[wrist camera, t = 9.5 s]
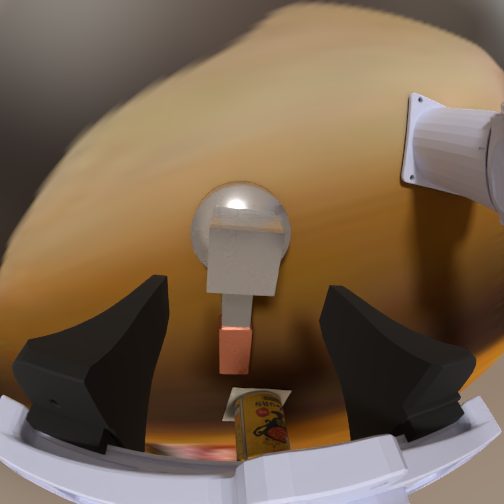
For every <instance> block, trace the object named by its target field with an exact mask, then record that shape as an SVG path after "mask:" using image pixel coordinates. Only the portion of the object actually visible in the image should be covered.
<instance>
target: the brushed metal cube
mask: <svg viewBox="0 0 504 504" xmlns="http://www.w3.org/2000/svg"><path fill="white" fill-rule="evenodd" d="M284 237H285V232H284V230H283V228H282V226H281V225H280V223H279V221H278V219H277V217H276V215H275V213H274V211H265V210H253V209H242V208H229V207H216V206H214V210H213V214H212V219H211V223H210V229H209V248H208V270H207V292H209V293H224V294H241V295H260V296H274V294H275V289H276V283H277V278H278V272H279V266H280V261H281V255H282V249H283V243H284Z"/></svg>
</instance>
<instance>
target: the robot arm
mask: <svg viewBox="0 0 504 504" xmlns="http://www.w3.org/2000/svg"><path fill="white" fill-rule="evenodd" d="M418 98H419V99H420V102H419V101H418ZM501 109H502V112H498V111H488V110H477V109H463V108H448V107H446V106H444V105H442V104H440V103H438V102H435V101H433V100H431V99H429V98H427V97H424V96H422V95H420V94H417V93H411V94H410V96H409V113H408V125H407V136H406V145H405V153H404V160H403V167H402V174H401V178H402V180H403V181H404V182H407V183H411V184H416V185H420V186H425V187H429V188H433V189H437V190H441V191H445V192H449V193H453V194H456V195H460V196H464V197H466V198H469V199H471V200H473V201H475V202H477V203H480V204H482V205H484V206H486V207H488V208H490V209H492V210H494V211H496V212H498V213H499V218H500V224H502V225H504V102H503V103H502V104H501ZM411 175H412V179H411V180H410V176H411ZM168 320H169V300H168V282H167V276H163V275H153V276H151V277H150V278H149V279H148V280H146V281H145V282H144V283H143V284H141V285H140V286H139V287H138V288H136V289H135V290H134V291H133V292H131V293H130V294H129V295H128V296H126V297H125V298H123V299H122V300H121V301H119V302H118V303H116V304H115V305H114V306H112V307H111V308H109V309H108V310H106V311H104V312H103V313H101V314H99V315H97V316H95V317H94V318H92V319H89V320H87V321H85V322H83V323H81V324H79V325H77V326H74V327H72V328H69V329H66V330H64V331H61V332H57V333H54V334H51V335H47V336H43V337H38V338H34V339H29V340H28V341H27V343H26V344H25V346H24V347H23V348H22V350H21V352H20V353H19V355H18V356H17V358H16V359H15V361H14V362H13V366H12V369H13V373H14V376H15V378H16V380H17V382H18V383H19V385H20V386H21V388H22V389H23V391H24V392H25V394H26V395H27V396H28V398H29V399H30V400H31V402H32V403H33V404H32V406H31V409H30V410H29V409H28V408H27V407H26V406H24V405H23V404H21V403H19V402H17V401H15V400H13V399H11V398H9V397H7V396H5V395H2V397H1V399H0V461H1V462H3V463H4V464H5V465H7V466H8V467H9V468H11V469H12V470H13V471H15V472H16V473H18V474H19V475H21V476H23V477H24V478H26V479H28V480H30V481H31V482H33V483H35V484H37V485H39V486H41V487H43V488H44V489H46V490H48V491H50V492H52V493H54V494H57V495H59V496H61V497H63V498H65V499H67V500H70V501H72V502H75V503H77V504H410V502H409V499H408V496H407V495H409V494H411V493H413V492H415V491H417V490H419V489H421V488H423V487H425V486H427V485H429V484H430V483H432V482H434V481H436V480H438V479H439V478H441V477H443V476H445V475H446V474H448V473H450V472H451V471H453V470H455V469H456V468H458V467H459V466H461V465H462V464H464V463H466V462H467V461H468V460H470V459H471V458H472V457H474V456H475V455H476V454H477V453H479V452H480V451H481V450H482V449H483V448H484V447H486V446H487V445H488V444H489V443H490V442H491V441H493V440H494V439H495V438H496V437H497V436H498V435H499V434H500V433H501V429H500V428H499V426H498V424H497V423H496V421H495V419H494V418H493V416H492V414H491V413H490V411H489V409H488V408H487V406H486V405H485V403H484V402H483V400H482V398H481V397H480V396H476V397H474V398H472V399H470V400H468V401H466V402H465V403H463V404H462V405H461V406H460V405H459V403H458V400H460V398H461V396H460V394H459V393H458V391H459V390H460V389H461V387H462V386H463V385H464V383H465V382H466V381H467V380H468V378H469V377H470V375H471V374H472V372H473V370H474V368H475V366H476V358H475V357H474V355H473V354H472V353H471V352H470V350H468V349H467V348H464V347H460V346H455V345H451V344H447V343H444V342H440V341H437V340H434V339H431V338H429V337H426V336H424V335H421V334H419V333H417V332H414V331H412V330H410V329H408V328H406V327H404V326H403V325H401V324H399V323H397V322H395V321H394V320H392V319H390V318H389V317H387V316H386V315H384V314H382V313H381V312H379V311H378V310H377V309H375V308H374V307H372V306H371V305H369V304H368V303H367V302H365V301H364V300H362V299H361V298H360V297H358V296H357V295H355V294H354V293H353V292H351V291H350V290H348V289H346V288H345V287H343V286H335V285H330V286H329V289H328V293H327V296H326V300H325V303H324V306H323V310H322V313H321V316H320V319H319V322H320V327H321V331H322V335H323V339H324V342H325V344H326V347H327V349H328V352H329V354H330V357H331V359H332V362H333V364H334V367H335V369H336V372H337V374H338V377H339V380H340V383H341V387H342V392H343V396H344V400H345V405H346V410H347V415H348V422H349V429H350V438H351V441H349V442H344V443H338V444H333V445H327V446H320V447H313V448H306V449H297V450H286V451H280V452H274V453H267V454H262V455H259V456H256V457H253V458H249V459H247V460H246V461H212V460H196V459H186V458H176V457H169V456H162V455H155V454H149V453H144V452H145V432H146V420H147V411H148V403H149V395H150V389H151V383H152V378H153V374H154V370H155V367H156V363H157V360H158V357H159V354H160V351H161V347H162V344H163V341H164V338H165V335H166V331H167V325H168Z"/></svg>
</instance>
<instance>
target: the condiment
mask: <svg viewBox="0 0 504 504" xmlns="http://www.w3.org/2000/svg"><path fill="white" fill-rule="evenodd" d="M290 393H291V390H274V389H256V388H236V387H233V389H232V392H231V395H230V398H229V401H228V404H227V408H226V411H225V413H224V417H223V420H222V421H235V434H236V452H237V461H246V460H247V459H249V458H253V457H256V456H259V455H262V454H267V453H274V452H280V451H286V450H290V445H289V439H288V433H287V429H286V423H285V418H284V412H283V408H282V406H283V404H284V403H285V401H286V399H287V398H288V396H289V394H290Z"/></svg>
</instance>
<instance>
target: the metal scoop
mask: <svg viewBox="0 0 504 504" xmlns="http://www.w3.org/2000/svg"><path fill="white" fill-rule="evenodd" d="M214 206H216V207H229V208H242V209H253V210H265V211H274V213H275V215H276V217H277V219H278V221H279V223H280V225H281V226H282V228H283V230H284V232H285V237H284V243H283V249H282V255H281V260H282V258H283V257H284V255H285V253H286V251H287V249H288V246H289V243H290V237H291V228H290V222H289V218H288V216H287V213H286V212H285V210H284V208H283V207H282V205H281V204H280V202H279V201H278V199H277V198H276V197H275V196H274V195H273V194H272V193H271V192H270V191H269V190H267V189H266V188H264V187H263V186H261V185H258V184H256V183H252V182H247V181H234V182H229V183H225V184H223V185H220V186H218V187H216V188H215V189H213V190H212V191H211V192H209V193H208V194H207V195H206V196H205V197H204V199H203V200H202V201H201V203H200V205H199V207H198V209H197V211H196V213H195V216H194V218H193V221H192V226H191V242H192V246H193V249H194V252H195V254H196V255H197V257H198V259H199V260H200V261H201V263H202V264H203V265H204V266H205V267H206V268H208V248H209V229H210V223H211V219H212V214H213V210H214ZM252 299H253V295H241V294H224V293H222V315H220V326H219V354H220V374H248V370H249V360H250V350H251V340H252V323H251V311H252Z"/></svg>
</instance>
